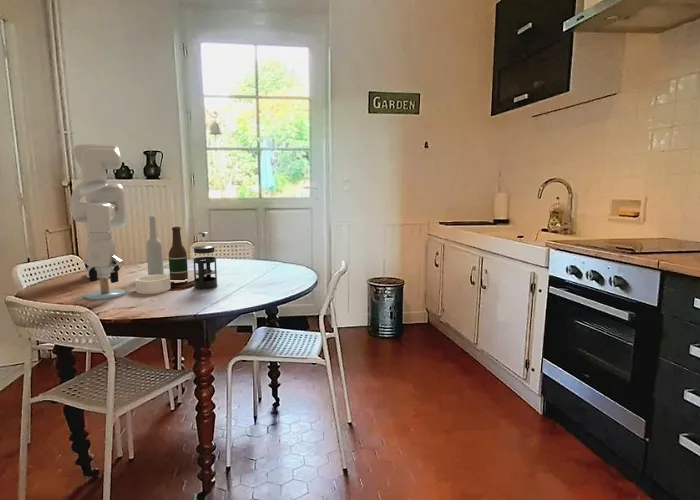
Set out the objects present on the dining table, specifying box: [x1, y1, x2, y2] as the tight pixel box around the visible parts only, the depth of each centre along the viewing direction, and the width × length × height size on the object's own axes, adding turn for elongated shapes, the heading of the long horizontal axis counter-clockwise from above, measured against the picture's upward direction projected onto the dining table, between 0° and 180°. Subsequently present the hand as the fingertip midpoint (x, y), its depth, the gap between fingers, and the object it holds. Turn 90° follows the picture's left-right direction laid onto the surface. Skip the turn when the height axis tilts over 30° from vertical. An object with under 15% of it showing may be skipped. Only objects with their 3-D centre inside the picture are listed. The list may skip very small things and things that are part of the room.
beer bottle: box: [168, 226, 189, 280], centre depth 196 cm, size 8×8×24 cm
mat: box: [71, 290, 137, 303], centre depth 172 cm, size 16×16×1 cm
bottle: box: [145, 215, 165, 275], centre depth 203 cm, size 7×7×28 cm
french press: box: [192, 231, 219, 290], centre depth 186 cm, size 12×9×23 cm
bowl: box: [134, 274, 172, 295], centre depth 180 cm, size 12×12×6 cm
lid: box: [84, 277, 126, 300], centre depth 172 cm, size 14×14×7 cm
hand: (104, 281), depth 171 cm, fingers open, 9 cm apart
